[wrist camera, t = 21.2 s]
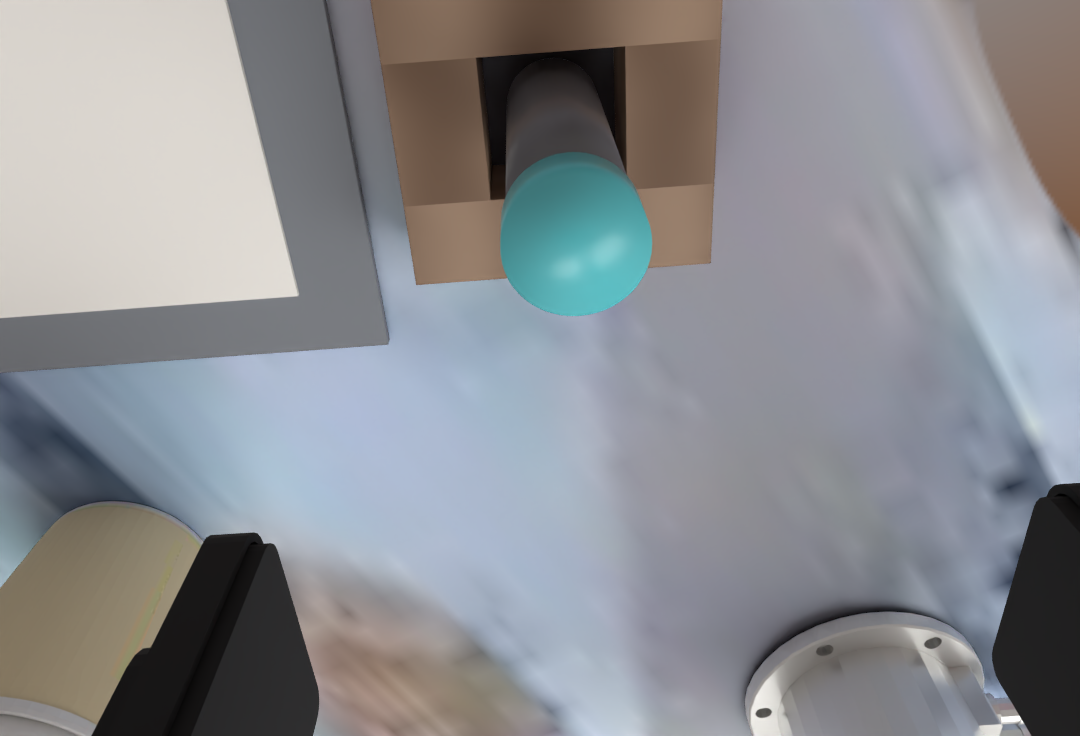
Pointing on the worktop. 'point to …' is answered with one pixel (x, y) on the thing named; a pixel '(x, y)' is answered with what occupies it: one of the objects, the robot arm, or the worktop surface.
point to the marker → (568, 197)
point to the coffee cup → (85, 613)
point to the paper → (131, 160)
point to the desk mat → (306, 214)
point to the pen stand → (463, 133)
